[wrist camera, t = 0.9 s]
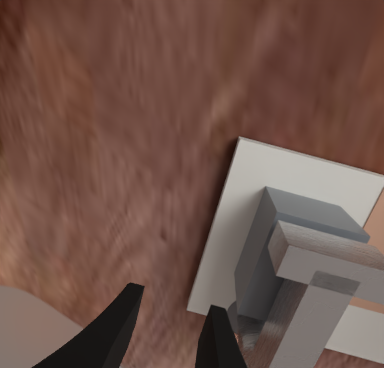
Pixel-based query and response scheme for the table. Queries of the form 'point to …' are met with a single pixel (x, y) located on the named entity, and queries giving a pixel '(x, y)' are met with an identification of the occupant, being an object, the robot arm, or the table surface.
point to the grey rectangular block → (260, 237)
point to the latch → (309, 295)
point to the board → (305, 186)
